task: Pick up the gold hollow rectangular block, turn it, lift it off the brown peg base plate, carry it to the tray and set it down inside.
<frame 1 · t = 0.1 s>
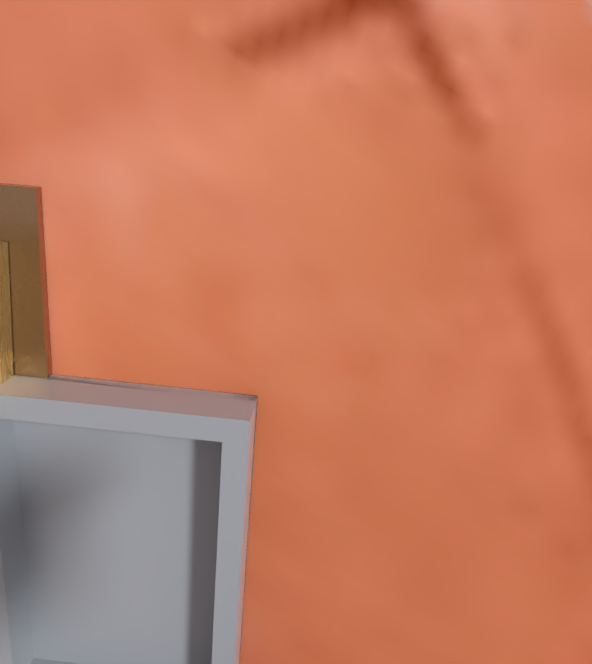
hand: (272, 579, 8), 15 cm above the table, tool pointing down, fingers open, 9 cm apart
tray: (126, 543, 26), on the table
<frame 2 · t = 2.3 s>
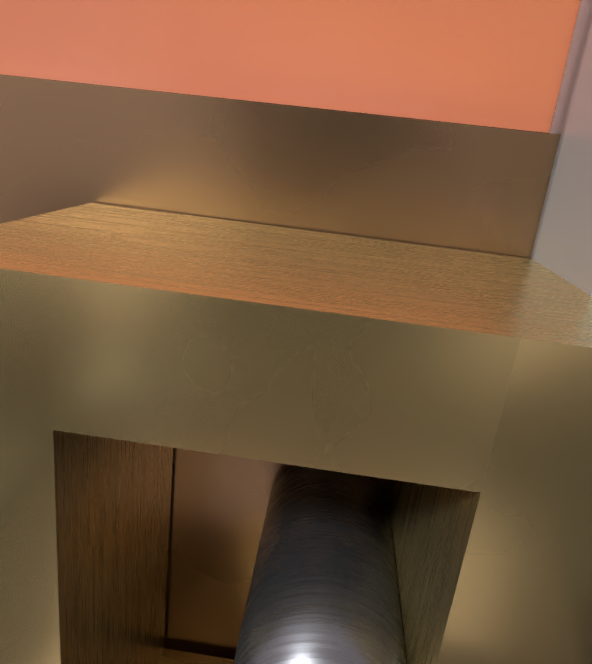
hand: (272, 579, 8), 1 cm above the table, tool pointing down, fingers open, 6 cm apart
brown peg base plate: (329, 493, 9), on the table
gold hollow rectangular block: (276, 512, 8), resting on brown peg base plate, touching gripper, tray
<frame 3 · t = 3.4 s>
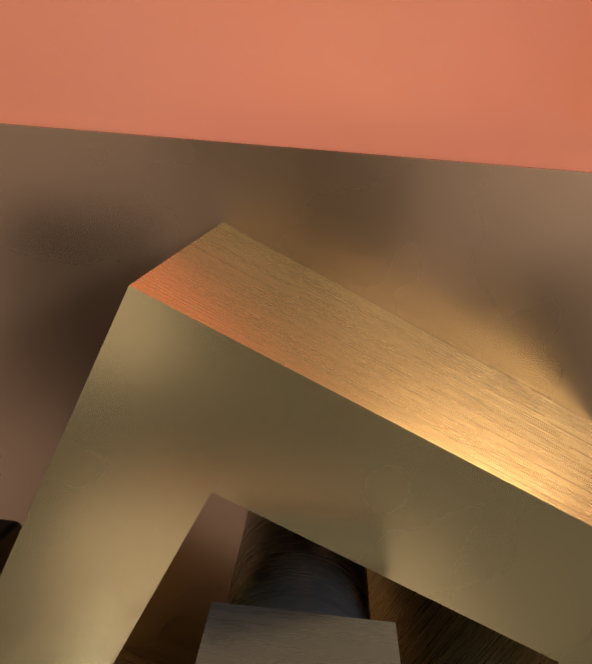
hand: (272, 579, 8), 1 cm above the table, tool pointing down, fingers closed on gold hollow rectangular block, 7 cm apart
brown peg base plate: (305, 517, 9), on the table
gold hollow rectangular block: (268, 553, 9), resting on brown peg base plate, touching gripper
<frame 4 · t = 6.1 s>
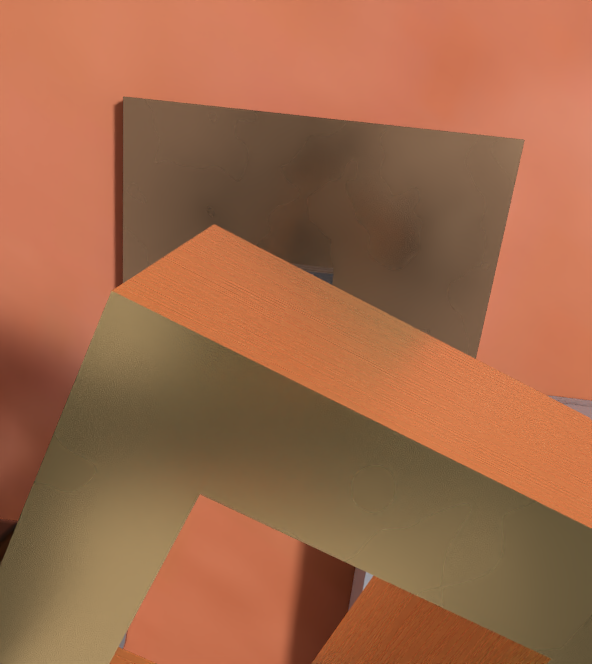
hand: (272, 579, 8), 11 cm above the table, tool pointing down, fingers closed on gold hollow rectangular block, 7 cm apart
brown peg base plate: (301, 306, 17), on the table
tray: (503, 594, 21), on the table
gold hollow rectangular block: (267, 553, 9), point 10 cm above the table, touching gripper
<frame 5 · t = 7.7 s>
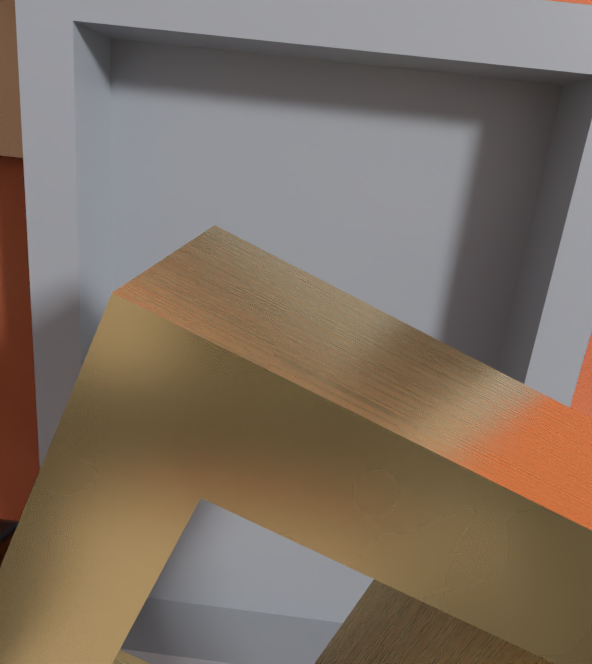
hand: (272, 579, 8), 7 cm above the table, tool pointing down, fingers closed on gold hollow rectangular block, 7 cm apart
tray: (299, 376, 14), on the table
gold hollow rectangular block: (268, 555, 9), point 6 cm above the table, touching gripper
when the fingers open (3 cm above the table, at t = 8.9 s): gold hollow rectangular block drops 1 cm, resting on tray.
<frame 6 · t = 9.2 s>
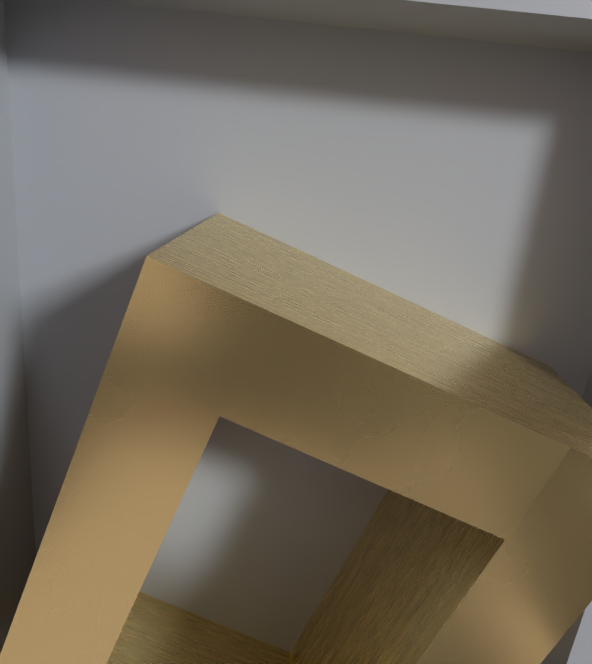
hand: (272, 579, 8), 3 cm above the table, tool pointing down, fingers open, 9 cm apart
tray: (288, 464, 10), on the table
gold hollow rectangular block: (277, 502, 10), resting on tray
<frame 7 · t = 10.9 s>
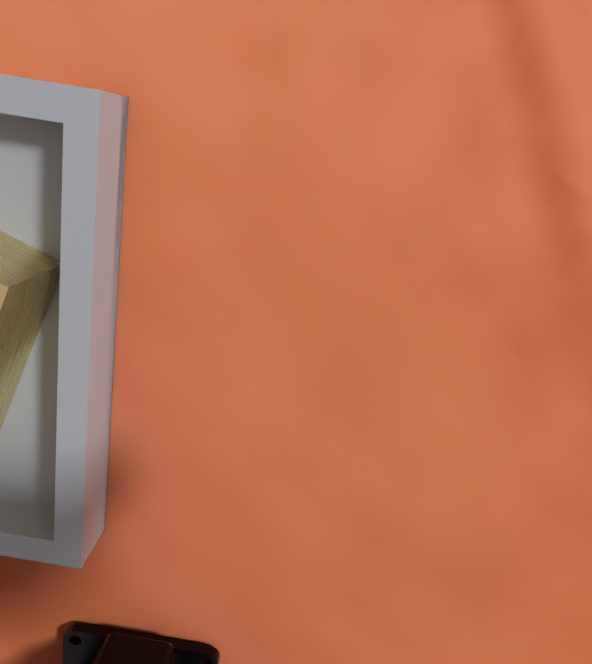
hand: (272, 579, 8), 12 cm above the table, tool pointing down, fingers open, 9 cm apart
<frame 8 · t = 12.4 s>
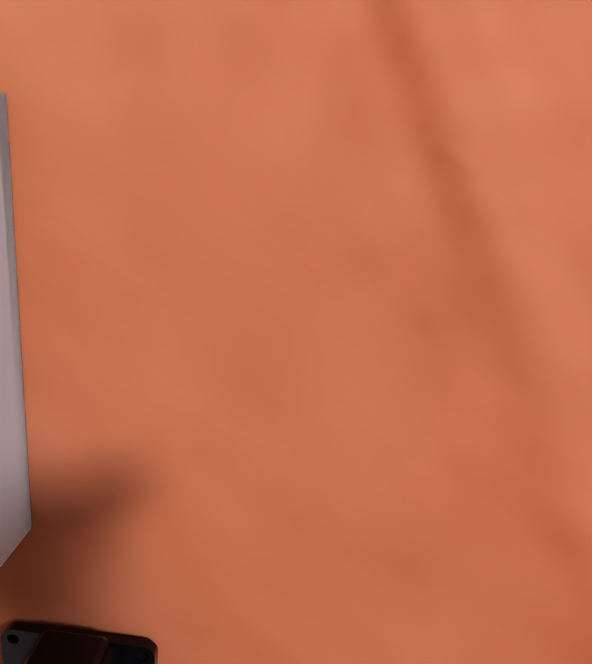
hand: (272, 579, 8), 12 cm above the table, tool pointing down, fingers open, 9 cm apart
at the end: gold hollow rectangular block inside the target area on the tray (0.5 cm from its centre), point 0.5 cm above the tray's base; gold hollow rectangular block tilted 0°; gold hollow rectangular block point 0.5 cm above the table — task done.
